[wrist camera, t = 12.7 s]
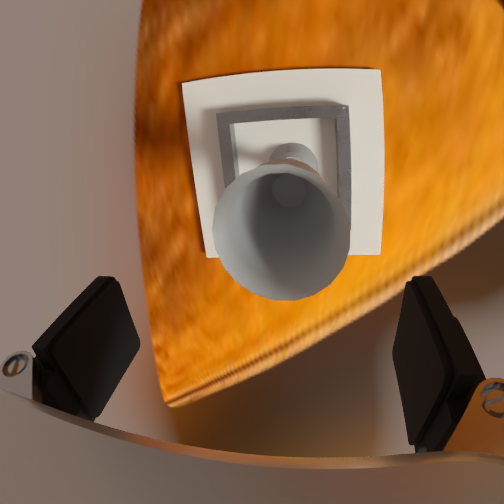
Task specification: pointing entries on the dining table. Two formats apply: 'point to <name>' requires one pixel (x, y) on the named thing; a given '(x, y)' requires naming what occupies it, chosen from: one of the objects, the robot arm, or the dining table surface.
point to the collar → (282, 113)
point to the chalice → (282, 227)
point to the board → (292, 137)
